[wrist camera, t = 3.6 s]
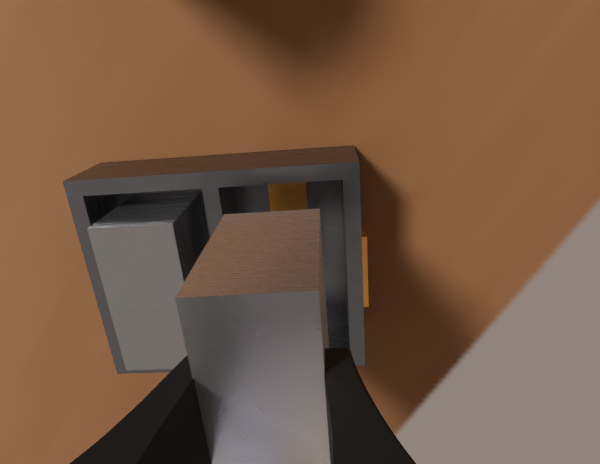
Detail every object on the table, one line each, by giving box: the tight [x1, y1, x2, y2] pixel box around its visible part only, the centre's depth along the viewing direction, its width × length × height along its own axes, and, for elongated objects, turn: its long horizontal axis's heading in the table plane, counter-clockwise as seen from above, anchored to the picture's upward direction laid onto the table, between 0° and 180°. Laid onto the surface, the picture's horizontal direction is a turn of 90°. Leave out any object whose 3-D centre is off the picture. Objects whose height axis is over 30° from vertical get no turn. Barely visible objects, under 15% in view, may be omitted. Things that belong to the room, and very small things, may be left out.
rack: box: [63, 146, 369, 374], centre depth 18 cm, size 9×11×4 cm
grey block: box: [175, 209, 331, 464], centre depth 12 cm, size 6×3×5 cm, turn 5°
